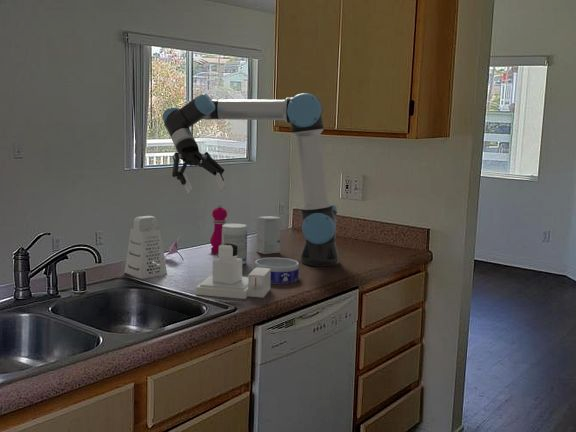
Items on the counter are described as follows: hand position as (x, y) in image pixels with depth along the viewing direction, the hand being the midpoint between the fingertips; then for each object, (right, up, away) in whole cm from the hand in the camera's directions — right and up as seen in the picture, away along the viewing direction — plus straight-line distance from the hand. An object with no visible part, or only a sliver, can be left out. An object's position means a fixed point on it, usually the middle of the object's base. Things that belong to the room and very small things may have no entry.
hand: (207, 190), depth 225 cm
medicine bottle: (+9, -30, -16) cm, 35 cm away
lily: (-16, -26, +23) cm, 39 cm away
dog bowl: (+24, -31, +2) cm, 39 cm away
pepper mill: (0, -24, +40) cm, 47 cm away
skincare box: (+20, -24, +44) cm, 54 cm away
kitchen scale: (+11, -33, -16) cm, 38 cm away
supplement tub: (+8, -27, +22) cm, 36 cm away
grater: (-22, -29, +2) cm, 36 cm away
